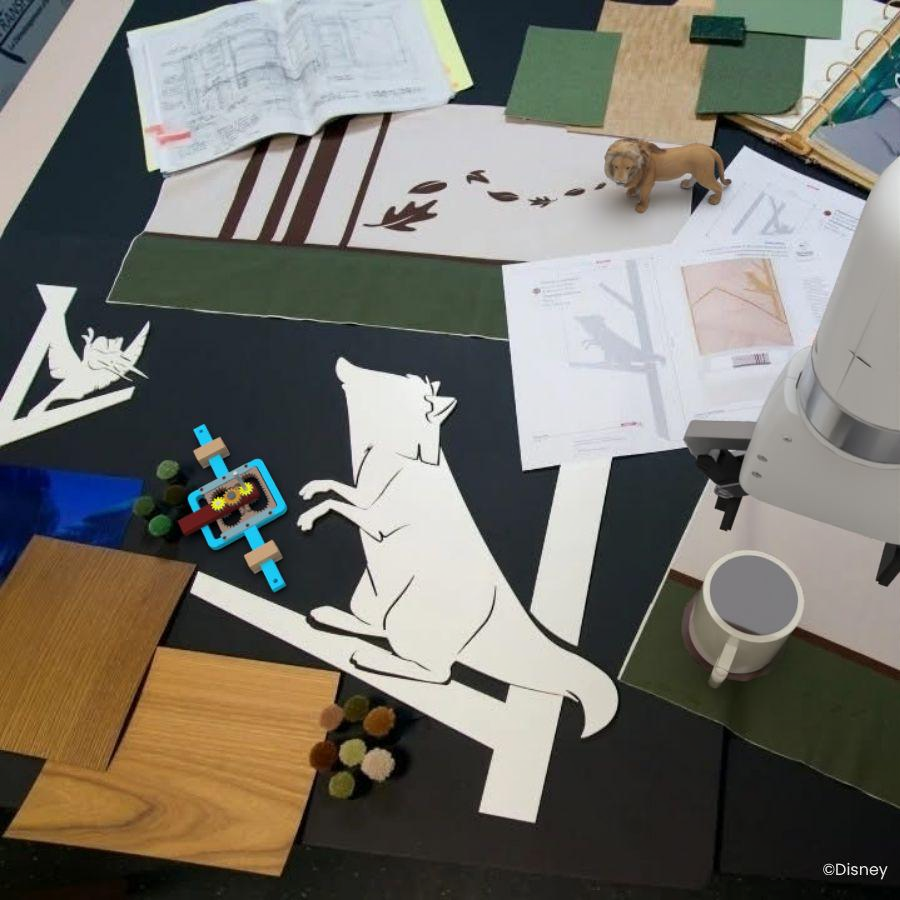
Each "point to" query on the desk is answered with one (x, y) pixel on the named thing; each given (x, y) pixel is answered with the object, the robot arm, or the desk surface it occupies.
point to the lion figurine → (662, 167)
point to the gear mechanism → (235, 506)
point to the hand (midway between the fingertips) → (806, 537)
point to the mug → (744, 612)
